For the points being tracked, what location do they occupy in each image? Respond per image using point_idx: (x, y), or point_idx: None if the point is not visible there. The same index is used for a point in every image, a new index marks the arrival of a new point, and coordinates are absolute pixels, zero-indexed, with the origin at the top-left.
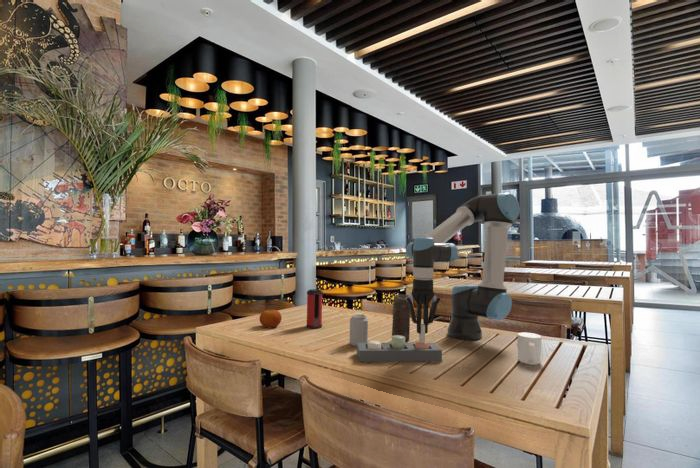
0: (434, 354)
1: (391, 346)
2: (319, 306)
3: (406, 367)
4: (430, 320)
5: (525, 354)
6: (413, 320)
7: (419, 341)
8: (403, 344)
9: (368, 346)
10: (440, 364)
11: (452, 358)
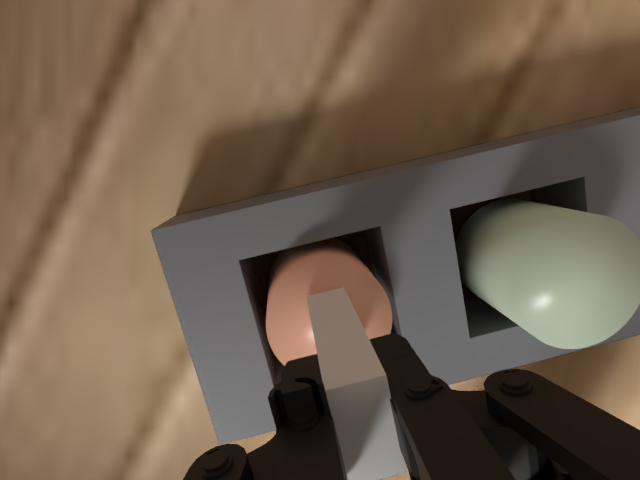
0: (224, 208)
1: None
2: None
3: (437, 27)
4: (231, 476)
5: None
6: (555, 389)
7: None
8: (503, 228)
9: None
10: (187, 145)
11: (94, 302)
